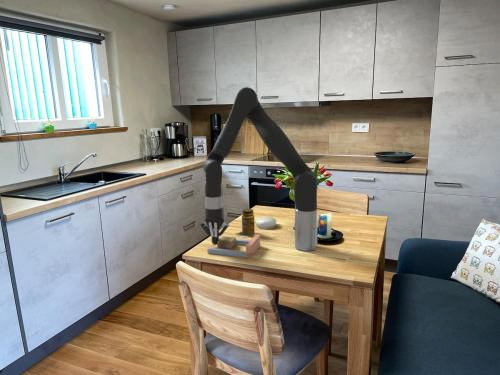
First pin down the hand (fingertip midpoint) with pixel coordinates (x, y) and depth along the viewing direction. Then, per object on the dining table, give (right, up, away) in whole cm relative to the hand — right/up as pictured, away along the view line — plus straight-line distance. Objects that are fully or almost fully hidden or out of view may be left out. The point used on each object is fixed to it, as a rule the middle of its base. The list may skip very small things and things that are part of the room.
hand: (215, 244), depth 163 cm
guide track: (+8, -2, -2) cm, 9 cm away
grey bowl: (+23, +5, +28) cm, 37 cm away
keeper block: (+5, -2, 0) cm, 5 cm away
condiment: (+14, +2, +17) cm, 22 cm away
